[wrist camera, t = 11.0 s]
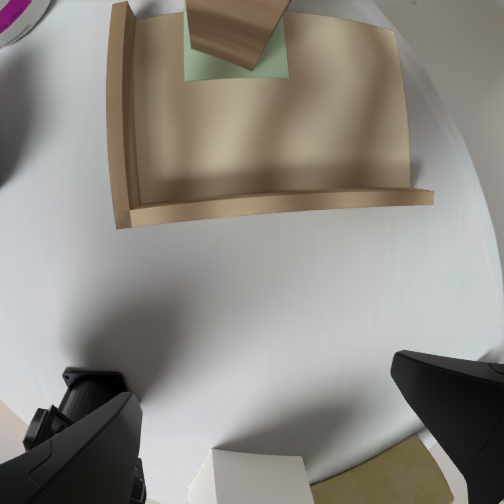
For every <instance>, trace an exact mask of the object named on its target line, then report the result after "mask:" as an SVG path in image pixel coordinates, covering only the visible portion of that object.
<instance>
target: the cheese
mask: <svg viewBox="0 0 504 504" xmlns="http://www.w3.org/2000/svg"><path fill="white" fill-rule="evenodd" d="M310 489H311V493H312V496H313V500H314V504H452V502H453V500H454V496H453V494H452V492H451V490H450V488H449V485H448V483H447V481H446V479H445V477H444V475H443V473H442V471H441V469H440V467H439V466H438V464H437V462H436V461H435V459H434V458H433V457H432V455H431V454H430V452H429V451H428V449H427V448H426V447H425V445H424V444H423V443H422V441H421V440H420V438H419V437H418V436H417V435H412V436H410V437H408V438H407V439H405V440H404V441H402V442H400V443H399V444H397V445H395V446H394V447H392V448H390V449H389V450H387V451H385V452H383V453H382V454H380V455H378V456H376V457H374V458H372V459H371V460H369V461H367V462H365V463H363V464H361V465H359V466H357V467H355V468H353V469H351V470H348V471H346V472H344V473H342V474H340V475H337V476H335V477H333V478H330V479H328V480H325V481H323V482H320V483H317V484H315V485H312V486H310Z"/></svg>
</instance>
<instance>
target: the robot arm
mask: <svg viewBox="0 0 504 504" xmlns="http://www.w3.org/2000/svg"><path fill="white" fill-rule="evenodd" d="M390 373H391V376H392V378H393V380H394V382H395V383H396V385H397V386H398V388H399V390H400V391H401V393H402V395H403V396H404V398H405V400H406V401H407V403H408V404H409V405H410V407H411V408H412V409H413V411H414V412H415V413H416V414H417V416H418V417H419V418H420V420H421V421H422V422H423V423H424V425H425V426H426V427H427V429H428V430H429V431H430V432H431V434H432V435H433V436H434V438H435V439H436V440H437V442H438V443H439V444H440V446H441V447H442V448H443V449H444V451H445V452H446V453H447V455H448V456H449V457H450V459H451V460H452V461H453V463H454V464H455V465H456V467H457V468H458V469H459V471H460V472H461V474H463V476H464V478H465V480H466V483H467V489H468V501H469V502H468V503H469V504H499V503H500V502H501V501H502V500H503V501H504V364H497V363H486V362H478V361H471V360H463V359H457V358H450V357H443V356H437V355H431V354H425V353H419V352H414V351H408V350H402V351H399V352H396V353H395V354H394V357H393V362H392V366H391V370H390ZM62 376H63V379H64V381H65V383H66V385H67V387H68V389H67V391H66V393H65V395H64V397H63V399H62V401H61V404H60V406H59V408H56V407H55V406H54V405H51V407H50V408H49V409H48V410H47V409H41V408H38V409H37V411H36V413H35V415H34V417H33V419H32V421H31V423H30V425H29V427H28V430H27V432H26V435H25V438H24V440H23V444H24V447H25V450H26V451H25V453H24V454H22V455H20V456H18V457H15V458H13V459H11V460H9V461H6V462H4V463H2V464H0V504H145V501H146V486H145V480H144V474H143V467H142V461H141V459H140V458H138V454H139V448H140V436H141V424H142V410H141V408H140V405H139V403H138V400H137V398H136V396H135V394H134V393H133V392H130V391H129V389H128V386H127V384H126V381H125V379H124V376H123V375H122V374H121V373H119V372H84V371H64V373H63V374H62ZM117 377H119V378H117Z"/></svg>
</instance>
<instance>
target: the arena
mask: <svg viewBox="0 0 504 504" xmlns="http://www.w3.org/2000/svg"><path fill="white" fill-rule="evenodd" d="M106 121H107V145H108V160H109V172H110V183H111V192H112V201H113V209H114V216H115V223H116V229H123V228H131V227H139V226H147V225H156V224H164V223H173V222H182V221H192V220H201V219H211V218H222V217H232V216H244V215H255V214H267V213H280V212H294V211H308V210H323V209H340V208H359V207H381V206H407V205H433V203H434V191H429V190H423V189H417V188H411V187H410V149H409V132H408V119H407V109H406V100H405V91H404V84H403V77H402V71H401V65H400V59H399V54H398V48H397V43H396V39H395V34H394V31H391V30H387V29H384V28H380V27H376V26H373V25H369V24H364V23H360V22H355V21H351V20H346V19H341V18H335V17H329V16H323V15H316V14H309V13H300V12H290V11H285V13H284V14H283V16H282V18H281V20H280V22H279V23H278V25H277V27H276V29H275V31H274V32H273V34H272V36H271V38H270V39H269V41H268V43H267V45H266V46H265V48H264V50H263V52H262V54H261V56H260V57H259V59H258V61H257V63H256V65H255V67H254V69H253V71H249V70H247V69H245V68H242V67H240V66H237V65H235V64H232V63H230V62H227V61H224V60H222V59H219V58H216V57H214V56H211V55H208V54H205V53H202V52H199V51H196V50H193V49H191V44H190V37H189V29H188V20H187V12H186V3H185V1H184V12H183V13H175V14H167V15H160V16H154V17H148V18H143V19H138V20H136V18H135V16H134V14H133V12H132V10H131V8H130V6H129V4H128V1H124V2H120V3H116V4H113V5H112V12H111V21H110V30H109V41H108V56H107V78H106Z"/></svg>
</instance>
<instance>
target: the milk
mask: <svg viewBox="0 0 504 504" xmlns="http://www.w3.org/2000/svg"><path fill="white" fill-rule="evenodd" d="M187 498H188V504H314V500H313V496H312V493H311V489H310V485H309V481H308V478H307V474H306V470H305V467H304V463H303V459H302V456H278V455H263V454H251V453H242V452H233V451H226V450H219V449H211V450H210V452H209V454H208V455H207V457H206V459H205V460H204V462H203V464H202V465H201V467H200V469H199V470H198V472H197V474H196V475H195V477H194V479H193V480H192V482H191V484H190V485H189V487H188V488H187Z"/></svg>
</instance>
